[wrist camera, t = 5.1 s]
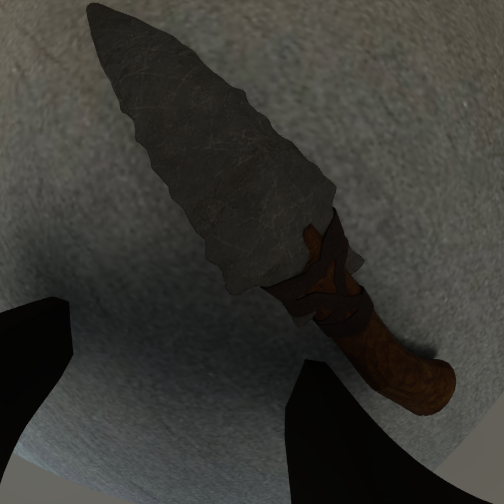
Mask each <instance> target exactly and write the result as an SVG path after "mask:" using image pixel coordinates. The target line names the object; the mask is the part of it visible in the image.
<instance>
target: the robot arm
mask: <svg viewBox="0 0 504 504" xmlns="http://www.w3.org/2000/svg"><path fill="white" fill-rule="evenodd" d="M72 356H73V346H72V336H71V325H70V311H69V302H68V301H66V300H63V299H60V298H57V297H54V296H53V297H48V298H44V299H41V300H37V301H34V302H31V303H28V304H25V305H22V306H19V307H16V308H13V309H10V310H7V311H4V312H1V313H0V483H1V480H2V477H3V474H4V471H5V469H6V466H7V464H8V461H9V459H10V456H11V454H12V452H13V450H14V448H15V446H16V444H17V442H18V440H19V438H20V436H21V434H22V432H23V430H24V429H25V427H26V425H27V424H28V422H29V421H30V420H31V418H32V417H33V415H34V414H35V413H36V411H37V410H38V408H39V407H40V406H41V404H42V403H43V402H44V400H45V399H46V397H47V396H48V395H49V393H50V392H51V391H52V389H53V388H54V386H55V385H56V384H57V382H58V381H59V379H60V378H61V376H62V375H63V373H64V371H65V369H66V367H67V366H68V364H69V362H70V360H71V358H72ZM285 446H286V456H287V465H288V474H289V483H290V493H291V504H492V503H490V502H487V501H484V500H482V499H479V498H477V497H475V496H473V495H471V494H469V493H466V492H465V491H463V490H461V489H459V488H457V487H455V486H454V485H452V484H450V483H448V482H447V481H445V480H443V479H442V478H440V477H439V476H437V475H436V474H434V473H433V472H432V471H430V470H429V469H427V468H426V467H424V466H423V465H422V464H420V463H419V462H418V461H416V460H415V459H414V458H413V457H412V456H410V455H409V454H408V453H407V452H406V451H405V450H403V449H402V448H401V447H400V446H399V445H398V444H396V443H395V442H394V441H393V440H392V439H391V438H390V437H389V436H388V435H387V434H386V433H385V432H384V431H383V430H382V429H381V428H380V427H379V426H378V425H377V423H376V422H375V421H374V420H373V419H372V418H371V417H370V416H369V415H368V414H367V412H366V411H365V410H364V409H363V408H362V407H361V405H360V404H359V403H358V402H357V401H356V399H355V398H354V397H353V396H352V395H351V393H350V392H349V391H348V390H347V388H346V387H345V386H344V385H343V383H342V382H341V381H340V380H339V378H338V377H337V376H336V374H335V373H334V372H333V371H332V369H331V368H330V367H329V366H328V365H327V364H326V362H321V361H314V360H308V359H305V361H304V364H303V366H302V369H301V371H300V374H299V376H298V379H297V381H296V383H295V386H294V388H293V391H292V393H291V395H290V398H289V400H288V403H287V405H286V407H285Z"/></svg>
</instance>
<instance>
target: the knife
mask: <svg viewBox="0 0 504 504" xmlns="http://www.w3.org/2000/svg"><path fill="white" fill-rule="evenodd" d="M86 12H87V17H88V22H89V26H90V31H91V36H92V39H93V42H94V45H95V48H96V52H97V55H98V58H99V61H100V63H101V66H102V68H103V70H104V72H105V73H106V75H107V77H108V78H109V80H110V81H111V84H112V87H113V89H114V92H115V94H116V96H117V98H118V100H119V103H120V109H121V111H122V112H123V113H125V114H127V115H128V116H129V117H130V118H131V119H132V120H133V121H134V125H135V138H136V141H137V142H139V143H140V144H141V145H142V146H143V147H145V148H146V149H147V150H148V154H149V157H150V160H151V166H152V169H153V170H154V171H155V172H156V173H157V174H158V175H159V177H160V178H161V179H162V180H163V181H164V182H165V183H166V184H167V185H168V187H169V193H170V196H171V198H172V199H173V200H174V201H175V202H176V203H177V204H179V205H180V206H181V207H182V208H183V209H184V211H185V213H186V215H187V217H188V219H189V222H190V223H191V225H192V226H193V228H194V229H195V231H196V232H197V234H199V235H200V236H201V237H202V238H204V240H205V246H206V250H205V256H206V260H208V261H209V262H211V263H213V264H215V265H217V266H218V267H219V268H220V269H221V270H222V272H223V277H224V282H225V287H226V289H227V291H228V292H229V294H232V295H240V294H242V293H243V292H245V291H246V290H248V289H250V288H251V287H253V286H260V288H262V289H264V290H265V291H267V292H268V293H270V294H271V295H272V296H274V297H275V298H277V299H278V300H280V301H281V302H282V303H283V305H284V306H285V308H286V309H287V311H288V312H289V314H290V315H291V316H292V318H293V322H294V323H295V324H296V326H297V327H301V326H304V325H306V324H307V323H308V322H309V321H310V320H311V319H312V318H313V320H314V321H315V322H316V324H317V325H318V326H319V327H320V329H321V330H322V331H323V332H324V333H325V334H326V335H327V336H328V337H331V338H332V339H333V340H334V342H335V343H336V344H337V345H338V346H339V348H340V349H341V350H342V352H343V353H344V354H345V355H346V357H347V358H348V359H349V361H350V362H351V363H352V365H353V366H354V368H355V369H356V370H357V371H358V373H359V374H360V375H361V377H362V378H363V379H364V380H365V382H366V383H367V384H368V385H369V386H370V387H371V388H372V389H373V390H375V391H377V392H378V393H380V394H381V395H383V396H384V397H386V398H388V399H390V400H392V401H394V402H396V403H397V404H399V405H401V406H402V407H404V408H405V409H407V410H409V411H411V412H412V413H414V414H416V415H418V416H422V415H425V416H428V415H433V414H435V413H437V412H439V411H440V410H441V409H443V408H444V407H445V406H446V405H447V404H448V402H449V400H450V399H451V397H452V395H453V393H454V391H455V386H456V376H455V373H454V370H453V368H452V367H451V366H450V364H449V363H448V362H445V361H443V360H439V359H430V360H427V359H423V358H421V357H419V356H417V355H415V354H413V353H411V352H409V351H408V350H406V349H405V348H404V347H403V346H402V345H401V344H400V343H399V342H398V341H397V340H396V339H395V338H394V336H393V335H392V334H391V333H390V331H389V330H388V329H387V327H386V326H385V325H384V323H383V322H382V320H381V319H380V318H379V316H378V315H377V314H376V312H375V310H374V305H373V303H372V301H371V298H370V297H369V295H368V294H367V292H366V290H365V289H364V287H363V286H361V285H359V284H358V283H356V281H355V280H354V278H353V277H352V276H351V274H353V273H354V272H356V271H358V270H359V269H360V267H361V266H362V265H363V263H364V261H365V260H364V259H363V258H362V257H361V256H360V255H358V254H356V253H355V252H353V251H352V249H351V248H350V246H349V243H348V240H347V238H346V237H345V235H344V231H343V228H342V225H341V223H340V220H339V217H338V214H337V211H336V209H335V208H334V207H332V203H333V198H334V195H335V193H336V186H335V185H334V184H333V183H332V182H331V181H330V180H329V179H327V178H326V177H325V176H324V175H323V174H322V172H321V171H320V169H319V168H318V166H316V165H315V164H313V163H312V162H310V161H309V160H307V159H306V158H305V157H304V156H303V154H302V153H301V152H300V151H299V150H298V149H297V147H296V146H295V145H294V144H293V143H292V142H291V141H289V140H287V139H285V138H283V137H282V136H280V135H279V134H277V133H276V131H275V130H274V129H273V128H272V127H271V124H270V121H269V120H268V118H267V117H266V116H264V115H262V114H261V113H259V112H257V111H256V110H255V109H254V108H253V107H252V106H251V105H250V104H249V103H248V101H247V98H246V94H245V92H244V90H241V89H237V88H233V87H232V86H230V85H229V84H227V83H226V82H225V81H224V80H223V79H222V78H221V77H219V76H218V75H217V74H215V73H214V72H213V71H211V70H210V69H209V68H208V67H207V66H206V65H205V64H204V63H202V62H201V60H200V59H199V58H198V56H197V55H196V53H195V52H194V51H193V50H192V49H190V48H188V47H187V46H185V45H183V44H182V43H180V42H179V41H178V40H177V39H176V38H175V37H173V36H172V35H170V34H168V33H166V32H163V31H161V30H159V29H156V28H154V27H152V26H150V25H148V24H146V23H144V22H142V21H141V20H139V19H137V18H135V17H132V16H129V15H127V14H124V13H121V12H118V11H115V10H113V9H111V8H108V7H106V6H104V5H101V4H99V3H90V4H89V5H88V6H87V8H86Z"/></svg>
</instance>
